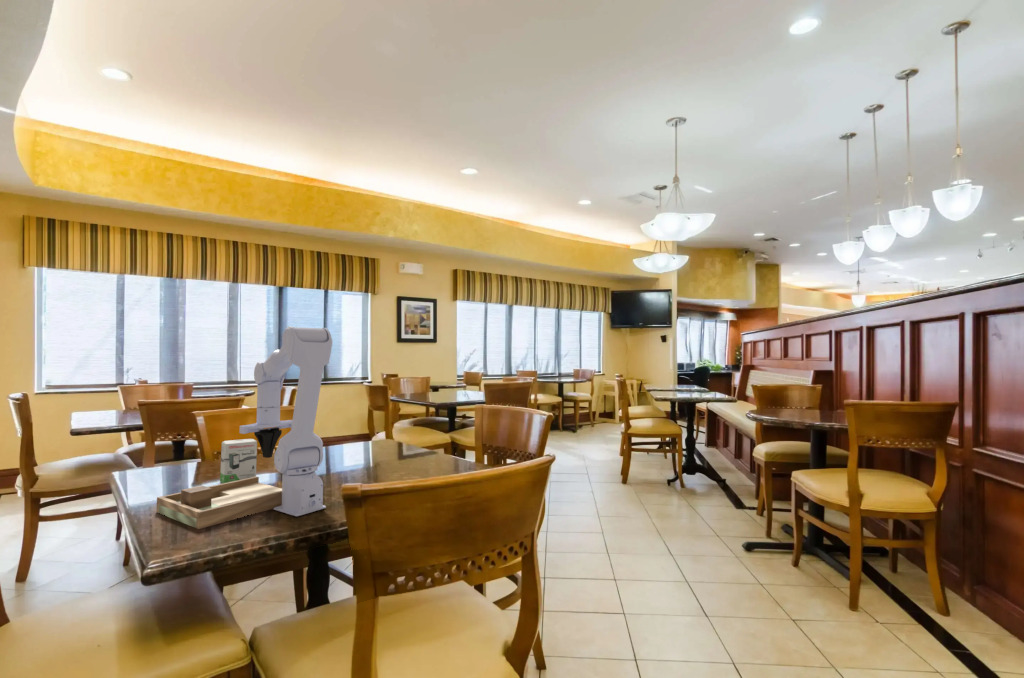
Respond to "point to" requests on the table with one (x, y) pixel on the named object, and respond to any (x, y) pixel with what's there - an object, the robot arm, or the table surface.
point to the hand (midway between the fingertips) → (267, 457)
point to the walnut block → (197, 497)
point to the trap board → (223, 503)
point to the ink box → (238, 460)
